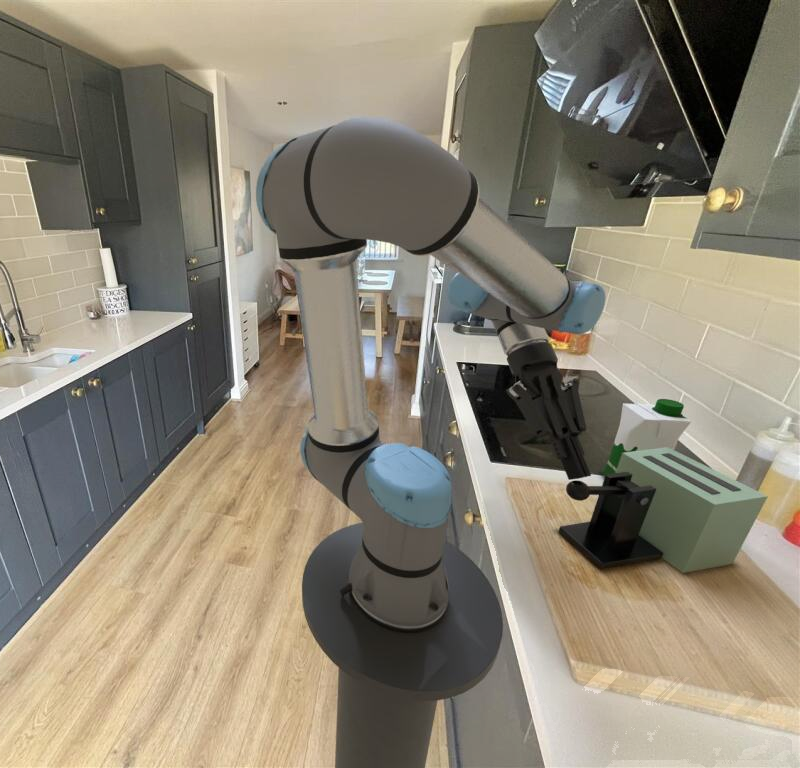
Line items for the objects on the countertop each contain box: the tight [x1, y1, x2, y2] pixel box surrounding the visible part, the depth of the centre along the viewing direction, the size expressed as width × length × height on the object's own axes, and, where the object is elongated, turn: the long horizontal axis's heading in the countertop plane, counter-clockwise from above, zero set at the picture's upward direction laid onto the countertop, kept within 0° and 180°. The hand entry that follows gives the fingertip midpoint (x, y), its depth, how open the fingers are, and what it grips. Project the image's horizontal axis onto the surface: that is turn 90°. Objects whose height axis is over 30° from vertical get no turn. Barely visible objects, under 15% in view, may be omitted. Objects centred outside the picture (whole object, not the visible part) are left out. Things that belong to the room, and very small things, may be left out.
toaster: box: [616, 447, 769, 574], centre depth 70 cm, size 10×15×14 cm, turn 10°
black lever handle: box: [565, 479, 640, 502], centre depth 66 cm, size 13×3×3 cm, turn 100°
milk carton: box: [602, 398, 692, 478], centre depth 83 cm, size 9×9×20 cm
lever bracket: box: [558, 472, 664, 571], centre depth 69 cm, size 12×9×14 cm
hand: (579, 477), depth 64 cm, fingers closed
